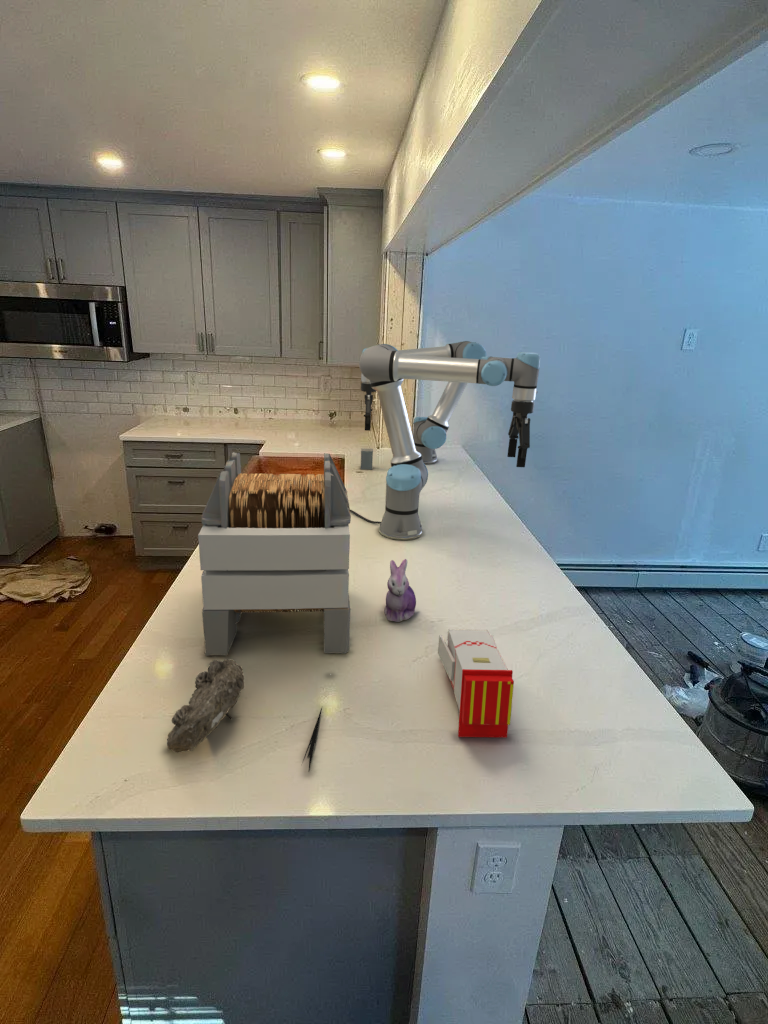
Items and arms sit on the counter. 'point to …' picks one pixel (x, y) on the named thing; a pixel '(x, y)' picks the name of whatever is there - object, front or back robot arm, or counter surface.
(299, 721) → the counter surface
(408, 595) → the figurine
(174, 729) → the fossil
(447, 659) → the toy
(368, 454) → the brick
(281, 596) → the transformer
